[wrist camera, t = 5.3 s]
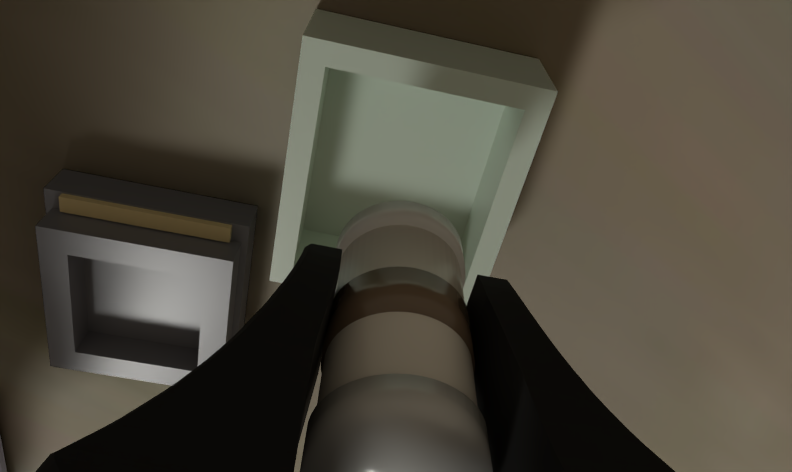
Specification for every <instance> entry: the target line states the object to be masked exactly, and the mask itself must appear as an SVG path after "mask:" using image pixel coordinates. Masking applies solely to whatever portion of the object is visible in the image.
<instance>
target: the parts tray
mask: <svg viewBox="0 0 792 472" xmlns="http://www.w3.org/2000/svg"><path fill="white" fill-rule="evenodd" d="M557 93H558V91H557V89H556V87H555V86H554V84H553V82H552V81H551V79H550V77H549V75H548V74H547V72H546V70H545V69H544V67H543V65H542V63H541V62H540V60H539V59H537V58H532V57H528V56H523V55H519V54H515V53H510V52H506V51H501V50H497V49H492V48H488V47H484V46H479V45H475V44H470V43H466V42H461V41H457V40H453V39H448V38H444V37H439V36H435V35H430V34H426V33H422V32H417V31H413V30H408V29H404V28H399V27H395V26H391V25H386V24H382V23H377V22H373V21H368V20H364V19H360V18H355V17H351V16H346V15H342V14H337V13H333V12H329V11H324V10H320V9H316V10H315V12H314V14H313V16H312V18H311V20H310V22H309V24H308V26H307V28H306V30H305V32H304V34H303V38H302V45H301V52H300V60H299V67H298V74H297V82H296V89H295V96H294V104H293V111H292V118H291V126H290V133H289V140H288V148H287V155H286V162H285V170H284V177H283V184H282V192H281V199H280V206H279V214H278V221H277V228H276V236H275V243H274V251H273V258H272V265H271V273H270V280H269V281H274V282H280V283H283V281H284V280H285V279H286V277H287V276H288V274H289V273H290V272H291V270H292V269H293V267H294V266H295V264H296V263H297V261H298V259H299V258H300V256H301V254H302V252H303V250H304V247H306V246H308V245H309V244H311V243H312V244H317V245H322V246H328V247H333V248H337V242H338V239H339V236H340V234H341V232H342V230H343V228H344V227H345V225H346V224H347V223H348V222H349V221H350V220H351V219H352V218H353V217H354V216H355V215H356V214H358V213H359V212H361V211H362V210H364V209H366V208H368V207H370V206H372V205H375V204H379V203H382V202H388V201H411V202H416V203H420V204H423V205H426V206H428V207H431V208H433V209H434V210H436V211H438V212H439V213H441V214H442V215H443V216H445V217H446V218H447V219H448V220H449V221H450V222H451V223H452V225H453V226H454V227H455V229H456V231H457V233H458V234H459V237H460V240H461V243H462V249H463V256H464V264H465V284H464V287H463V294H464V302H465V304H466V305H467V302H468V300H469V297H470V294H471V291H472V289H473V286H474V283H475V280H476V277H477V275H483V276H488V277H489V276H490V274H491V271H492V268H493V266H494V263H495V260H496V257H497V255H498V252H499V249H500V247H501V244H502V241H503V239H504V236H505V233H506V230H507V228H508V225H509V222H510V220H511V217H512V214H513V212H514V209H515V206H516V204H517V201H518V198H519V195H520V193H521V190H522V187H523V185H524V182H525V179H526V177H527V174H528V171H529V169H530V166H531V163H532V160H533V158H534V155H535V152H536V150H537V147H538V144H539V142H540V139H541V136H542V134H543V131H544V128H545V125H546V123H547V120H548V117H549V115H550V112H551V109H552V107H553V104H554V101H555V98H556V96H557Z"/></svg>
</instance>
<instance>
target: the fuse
mask: <svg viewBox="0 0 792 472" xmlns="http://www.w3.org/2000/svg"><path fill="white" fill-rule="evenodd" d="M337 248H339V249H342V256H341V265H340V271H339V276H338V281H337V285H336V290H335V295H334V300H333V305H332V309H331V314H330V318H329V322H328V326H327V330H326V333H325V339H324V345H323V351H322V357H321V372H322V376H321V383H320V390H319V396H318V403H317V406H316V407H315V409H314V410H313V412H312V414H311V416H310V419H309V421H308V426H307V432H306V438H305V444H304V450H303V456H302V462H301V468H300V472H493V468H492V461H491V454H490V446H489V439H488V432H487V426H486V422H485V420H484V417H483V415H482V413H481V412H480V410H479V408H478V405H477V397H476V389H475V381H474V373H475V358H474V350H473V343H472V335H471V328H470V320H469V314H468V309H467V306H466V304H465V302H464V294H463V287H464V284H465V264H464V256H463V249H462V243H461V240H460V237H459V234H458V233H457V231H456V229H455V227H454V226H453V225H452V223H451V222H450V221H449V220H448V219H447V218H446V217H445V216H443V215H442V214H441V213H439V212H438V211H436V210H434V209H433V208H431V207H428V206H426V205H423V204H420V203H416V202H411V201H388V202H382V203H379V204H375V205H372V206H370V207H368V208H366V209H364V210H362V211H361V212H359V213H358V214H356V215H355V216H354V217H353V218H352V219H351V220H350V221H349V222H348V223H347V224H346V225H345V227H344V228H343V230H342V232H341V234H340V236H339V239H338V242H337Z"/></svg>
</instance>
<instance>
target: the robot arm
mask: <svg viewBox="0 0 792 472" xmlns="http://www.w3.org/2000/svg"><path fill="white" fill-rule="evenodd" d="M341 256H342V249H339V248H333V247H328V246H322V245H317V244H312V243H311V244H309V245H308V246H306V247H304V250H303V252H302V254H301V256H300V258H299V259H298V261H297V263H296V264H295V266H294V267H293V269H292V270H291V272H290V273H289V274H288V276H287V277H286V279H285V280H284V281H283V283H282V284H281V285H280V286H279V287H278V289H277V290H276V291H275V292H274V294H273V295H272V296H271V297H270V298H269V300H268V301H267V302H266V303H265V304H264V305H263V307H262V308H261V309H260V310H259V311H258V312H257V313H256V314H255V315H254V316H253V317H252V318H251V319H250V320H249V321H248V322H247V323H246V324H245V325H244V326H243V327H242V328H241V329H240V330H239V331H238V332H237V333H236V334H235V335H234V336H233V337H232V338H231V339H230V340H229V341H228V342H227V343H225V344H224V345H223V346H222V347H221V348H220V349H219V350H217V351H216V352H215V353H214V354H213V355H212V356H210V357H209V358H208V359H207V360H205V361H204V362H203V363H202V364H200V365H199V366H198V367H196V368H195V369H194V370H192V371H191V372H190V373H188V374H187V375H186V376H185V377H183V378H182V379H181V380H179V381H178V382H176V383H175V384H174V385H172V386H171V387H169V388H168V389H166V390H165V391H163V392H162V393H160V394H159V395H157V396H155V397H154V398H152V399H151V400H149V401H147V402H146V403H144V404H143V405H141V406H139V407H138V408H136V409H134V410H133V411H131V412H130V413H128V414H126V415H125V416H123V417H122V418H120V419H118V420H116V421H115V422H113V423H111V424H109V425H107V426H105V427H103V428H101V429H100V430H98V431H96V432H94V433H92V434H90V435H88V436H86V437H84V438H82V439H80V440H78V441H76V442H74V443H72V444H70V445H68V446H66V447H64V448H62V449H60V450H58V451H56V452H54V453H52V454H50V455H49V457H48V458H47V459H46V460H45V461H44V462H43V463H42V465H41V466H40V467H39V468H38V469H37V471H36V472H294V466H295V460H296V454H297V448H298V443H299V440H300V436H301V433H302V429H303V425H304V422H305V418H306V415H307V411H308V408H309V404H310V400H311V397H312V393H313V390H314V386H315V382H316V379H317V375H318V371H319V367H320V362H321V357H322V351H323V345H324V339H325V333H326V330H327V326H328V322H329V318H330V314H331V309H332V305H333V300H334V295H335V290H336V285H337V281H338V276H339V271H340V265H341ZM466 306H467V309H468V314H469V320H470V328H471V335H472V343H473V350H474V358H475V373H474V381H475V389H476V397H477V405H478V408H479V410H480V412H481V413H482V415H483V417H484V420H485V422H486V426H487V432H488V439H489V446H490V454H491V461H492V468H493V472H675V471H674V470H673V469H672V468H670V467H669V466H668V465H667V464H666V463H665V462H664V461H662V460H661V459H660V458H659V457H658V456H657V455H656V454H654V453H653V452H652V451H651V450H650V449H649V448H648V447H646V446H645V445H644V444H643V443H642V442H641V441H640V440H639V439H638V438H637V437H636V436H635V435H633V434H632V433H631V432H630V431H629V430H628V429H627V428H626V427H625V426H624V425H623V424H622V423H621V422H620V421H619V420H618V419H617V418H616V417H615V416H614V415H613V414H612V413H611V412H610V411H609V410H608V408H607V407H606V406H605V405H604V404H603V403H602V402H601V401H600V400H599V399H598V398H597V397H596V396H595V395H594V393H593V392H592V391H591V390H590V389H589V388H588V387H587V385H586V384H585V383H584V382H583V381H582V379H581V378H580V377H579V376H578V375H577V374H576V372H575V371H574V370H573V369H572V368H571V366H570V365H569V364H568V363H567V361H566V360H565V359H564V358H563V356H562V355H561V354H560V352H559V351H558V350H557V349H556V347H555V346H554V345H553V343H552V342H551V341H550V339H549V338H548V337H547V335H546V334H545V332H544V331H543V330H542V328H541V327H540V326H539V324H538V323H537V321H536V320H535V319H534V317H533V316H532V314H531V313H530V311H529V310H528V309H527V307H526V306H525V304H524V303H523V301H522V300H521V299H520V297H519V296H518V294H517V293H516V291H515V290H514V289H513V287H512V286H511V285H510V283H509V282H508V281H507V280H504V279H499V278H493V277H488V276H483V275H477V277H476V280H475V283H474V286H473V289H472V291H471V294H470V297H469V300H468V302H467V305H466ZM0 472H7V469H6V463H5V458H4V452H3V447H2V442H1V436H0Z"/></svg>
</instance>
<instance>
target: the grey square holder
mask: <svg viewBox="0 0 792 472" xmlns="http://www.w3.org/2000/svg"><path fill="white" fill-rule="evenodd" d="M43 189H44V200H45V210H46V215H45V216H44V217H43V218H42V219H41V220H40V221H39V222H38V223H37V225H36V226H35V229H36V238H37V247H38V256H39V265H40V275H41V284H42V293H43V302H44V311H45V320H46V329H47V339H48V348H49V357H50V366H53V367H59V368H65V369H72V370H78V371H84V372H91V373H97V374H103V375H109V376H116V377H122V378H128V379H135V380H141V381H147V382H154V383H160V384H166V385H174V384H175V383H176V382H178V381H179V380H181V379H182V378H183V377H185V376H186V375H187V374H188V373H190V372H191V371H192V370H194V369H195V368H196V367H198V366H199V365H200V364H202V363H203V362H204V361H205V360H207V359H208V358H209V357H210V356H212V355H213V354H214V353H215V352H216V351H217V350H219V349H220V348H221V347H222V346H223V345H224V344H225V343H227V342H228V341H229V340H230V339H231V338H232V337H233V336H234V335H235V334H236V333H237V332H238V331H239V330H240V329H241V328H242V327H243V326H244V321H245V313H246V304H247V295H248V287H249V278H250V269H251V260H252V252H253V243H254V234H255V225H256V217H257V208H258V206H254V205H249V204H244V203H238V202H233V201H228V200H223V199H217V198H212V197H207V196H202V195H196V194H191V193H186V192H181V191H176V190H170V189H165V188H160V187H155V186H149V185H144V184H139V183H134V182H128V181H123V180H118V179H113V178H107V177H102V176H97V175H92V174H86V173H81V172H76V171H71V170H65V169H62V170H61V171H60V172H59V173H58V174H57V175H56V176H55V177H54V178H53V179H52V180H51V181H50V182H49V183H48V184H47V185H46V186H45V187H44V188H43Z"/></svg>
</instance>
